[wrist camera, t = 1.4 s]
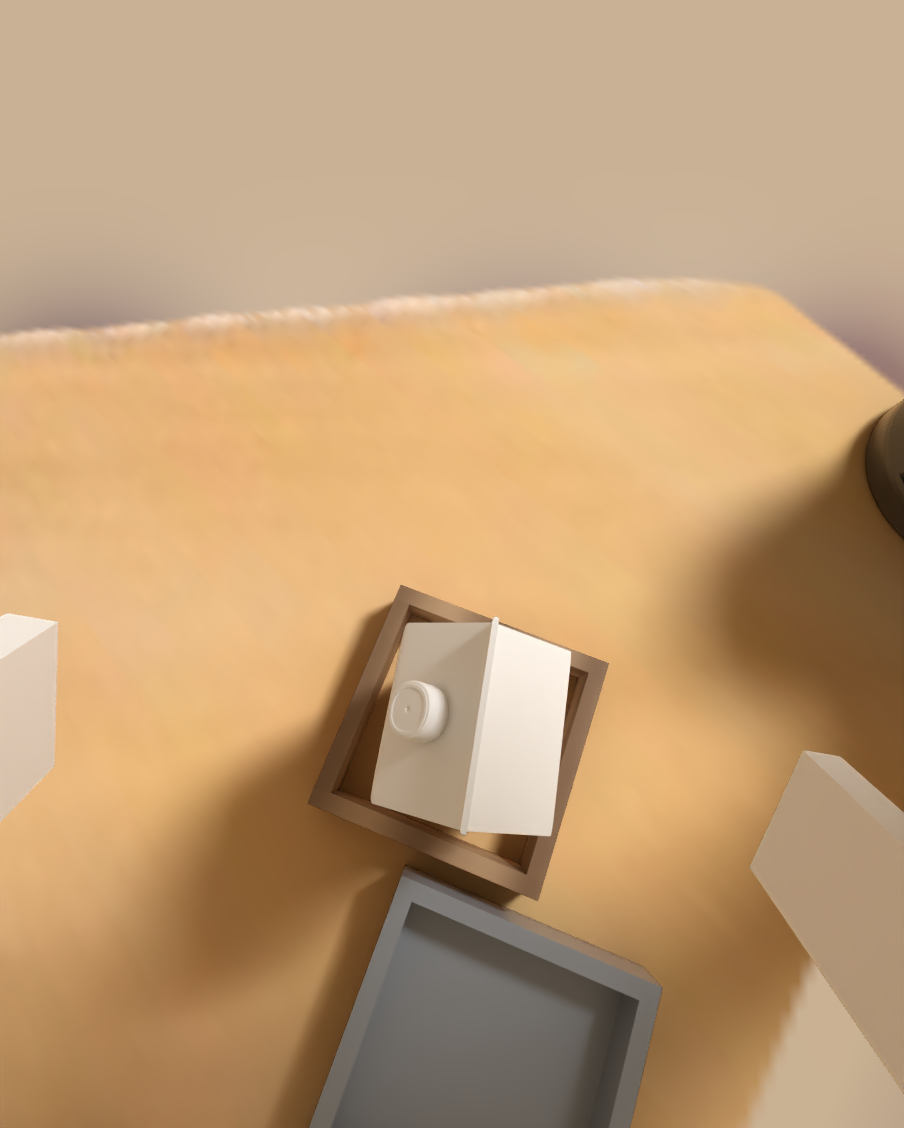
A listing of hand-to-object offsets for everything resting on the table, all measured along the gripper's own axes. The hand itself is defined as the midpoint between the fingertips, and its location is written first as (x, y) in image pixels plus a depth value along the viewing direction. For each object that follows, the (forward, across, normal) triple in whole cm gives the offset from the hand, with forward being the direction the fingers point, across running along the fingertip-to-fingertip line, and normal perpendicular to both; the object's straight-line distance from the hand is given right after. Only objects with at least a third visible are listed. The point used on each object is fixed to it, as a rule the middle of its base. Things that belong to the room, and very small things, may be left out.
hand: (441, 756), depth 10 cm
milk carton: (+24, +5, -14) cm, 28 cm away
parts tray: (+14, +9, -28) cm, 33 cm away
